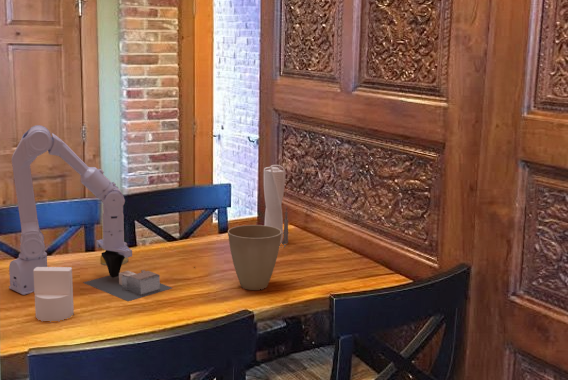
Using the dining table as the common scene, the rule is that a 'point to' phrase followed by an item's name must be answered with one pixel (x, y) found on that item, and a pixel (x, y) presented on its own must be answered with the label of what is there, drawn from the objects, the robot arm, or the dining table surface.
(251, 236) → the plant pot
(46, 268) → the base with upright slab
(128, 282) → the end cap
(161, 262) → the dining table surface
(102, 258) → the bread roll
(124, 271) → the pale grey rectangular bar
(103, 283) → the mat
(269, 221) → the skyscraper
